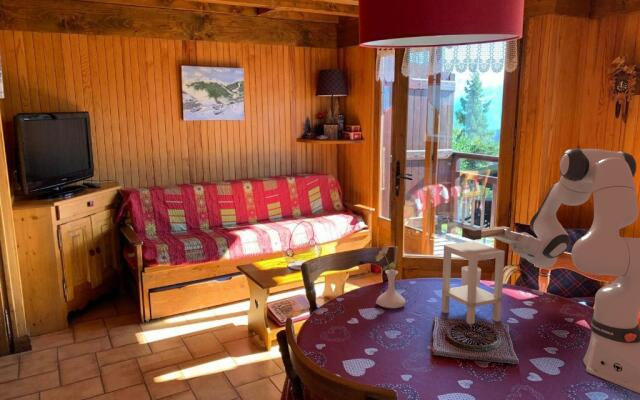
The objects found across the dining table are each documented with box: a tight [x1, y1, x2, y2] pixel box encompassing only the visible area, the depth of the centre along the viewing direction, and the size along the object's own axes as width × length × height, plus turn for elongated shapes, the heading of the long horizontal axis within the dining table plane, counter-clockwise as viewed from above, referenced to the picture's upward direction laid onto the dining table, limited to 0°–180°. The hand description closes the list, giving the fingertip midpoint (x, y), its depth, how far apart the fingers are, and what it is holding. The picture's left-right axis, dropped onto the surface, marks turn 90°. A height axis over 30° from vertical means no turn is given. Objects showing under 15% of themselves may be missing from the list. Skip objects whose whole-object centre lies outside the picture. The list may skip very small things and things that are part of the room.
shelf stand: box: [441, 240, 506, 324], centre depth 182 cm, size 16×14×26 cm
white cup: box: [461, 265, 482, 288], centre depth 209 cm, size 8×8×10 cm
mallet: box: [461, 225, 511, 241], centre depth 182 cm, size 6×18×4 cm, turn 114°
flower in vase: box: [375, 244, 407, 309], centre depth 192 cm, size 13×11×25 cm
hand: (500, 229), depth 184 cm, fingers closed on mallet, 3 cm apart
